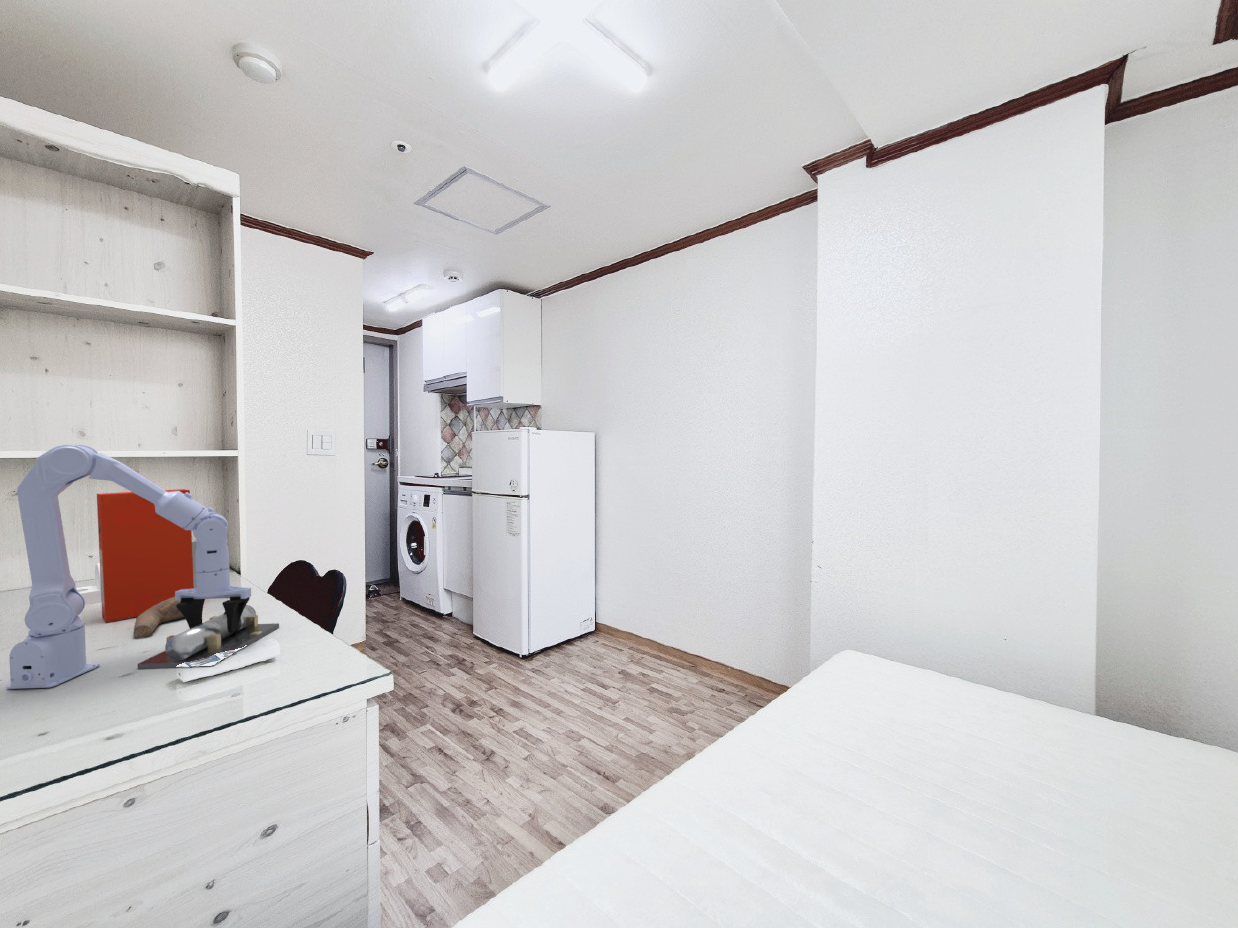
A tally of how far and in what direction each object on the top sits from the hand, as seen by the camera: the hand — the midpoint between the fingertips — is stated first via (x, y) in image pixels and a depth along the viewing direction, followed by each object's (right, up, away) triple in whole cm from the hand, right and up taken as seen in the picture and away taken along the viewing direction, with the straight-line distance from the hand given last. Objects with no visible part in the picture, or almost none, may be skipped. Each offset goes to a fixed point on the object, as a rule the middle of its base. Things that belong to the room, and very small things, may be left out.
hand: (214, 631), depth 112 cm
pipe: (-23, -4, +13) cm, 27 cm away
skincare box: (-44, -3, +43) cm, 61 cm away
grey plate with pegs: (0, -3, 0) cm, 3 cm away
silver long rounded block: (0, -2, 0) cm, 2 cm away
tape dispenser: (-62, -3, +38) cm, 73 cm away
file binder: (-37, -3, +25) cm, 45 cm away
